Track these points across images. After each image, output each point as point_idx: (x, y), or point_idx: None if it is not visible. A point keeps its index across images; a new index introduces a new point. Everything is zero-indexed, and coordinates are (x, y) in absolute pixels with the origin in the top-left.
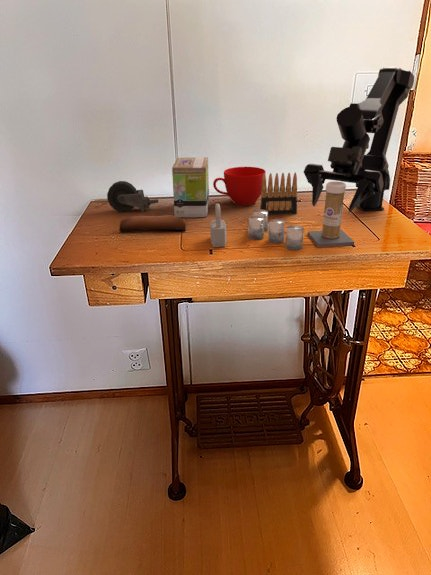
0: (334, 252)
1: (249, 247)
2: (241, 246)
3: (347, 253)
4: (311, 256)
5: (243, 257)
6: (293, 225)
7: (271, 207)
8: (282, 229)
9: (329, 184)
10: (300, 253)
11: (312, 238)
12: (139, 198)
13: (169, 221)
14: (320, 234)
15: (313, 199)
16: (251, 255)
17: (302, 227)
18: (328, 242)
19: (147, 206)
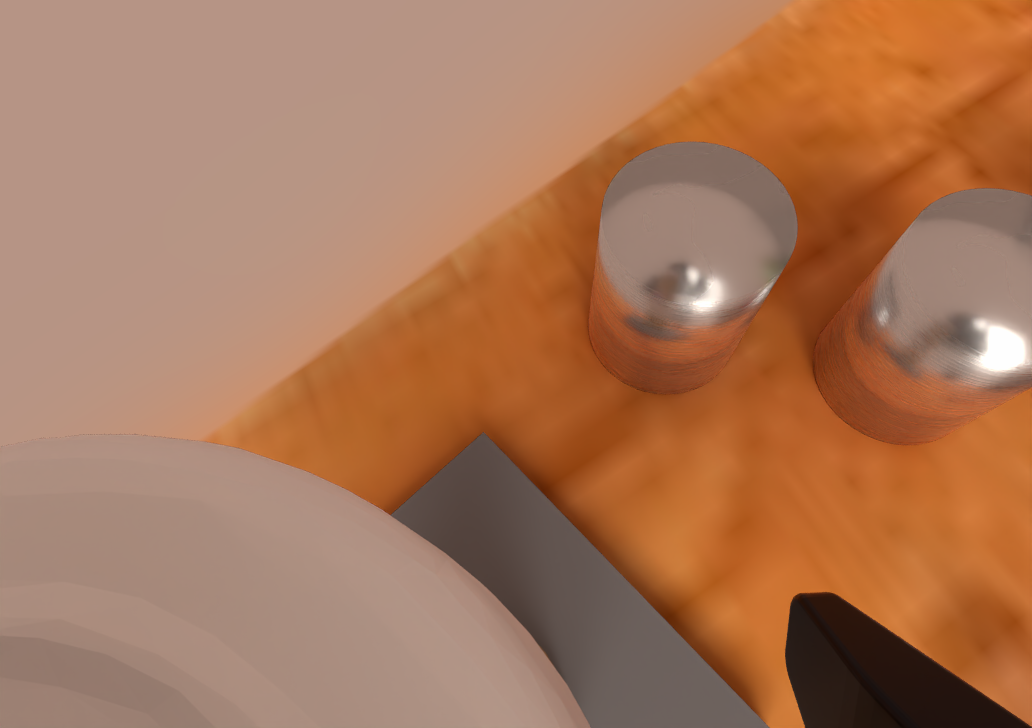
0: (316, 418)
1: (941, 149)
2: (1003, 133)
3: None
4: (451, 253)
5: (832, 17)
6: (766, 270)
7: None
8: (872, 291)
9: (293, 574)
10: (550, 256)
11: (621, 576)
12: None
13: None
14: (592, 717)
15: (883, 646)
16: (816, 61)
17: (641, 269)
18: (415, 528)
19: None
